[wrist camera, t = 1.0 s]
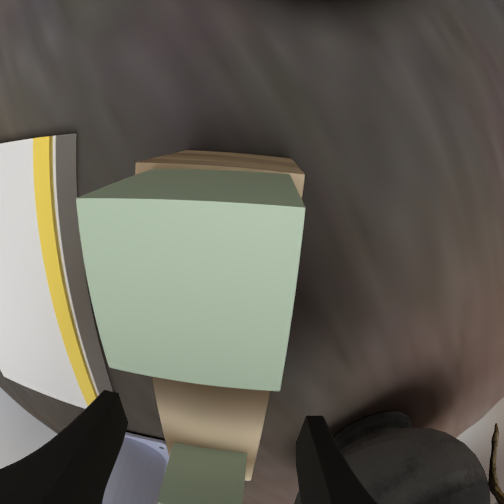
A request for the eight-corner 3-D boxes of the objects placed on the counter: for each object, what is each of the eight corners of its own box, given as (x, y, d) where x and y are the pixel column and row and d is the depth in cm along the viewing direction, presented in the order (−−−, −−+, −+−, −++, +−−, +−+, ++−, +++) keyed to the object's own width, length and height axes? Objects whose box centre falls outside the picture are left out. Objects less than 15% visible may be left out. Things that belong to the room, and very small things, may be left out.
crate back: (242, 480, 15) (237, 532, 11) (180, 470, 15) (168, 521, 11) (247, 453, 14) (241, 515, 10) (173, 441, 14) (157, 502, 10)
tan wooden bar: (255, 414, 21) (250, 480, 15) (190, 405, 21) (172, 469, 15) (291, 158, 14) (304, 174, 8) (187, 150, 14) (135, 162, 8)
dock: (115, 397, 21) (106, 417, 19) (13, 364, 21) (2, 378, 19) (76, 133, 14) (52, 135, 11) (-36, 151, 13) (-57, 156, 11)
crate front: (278, 299, 10) (279, 391, 6) (159, 288, 10) (109, 367, 6) (289, 174, 8) (305, 207, 5) (152, 168, 8) (75, 198, 5)
